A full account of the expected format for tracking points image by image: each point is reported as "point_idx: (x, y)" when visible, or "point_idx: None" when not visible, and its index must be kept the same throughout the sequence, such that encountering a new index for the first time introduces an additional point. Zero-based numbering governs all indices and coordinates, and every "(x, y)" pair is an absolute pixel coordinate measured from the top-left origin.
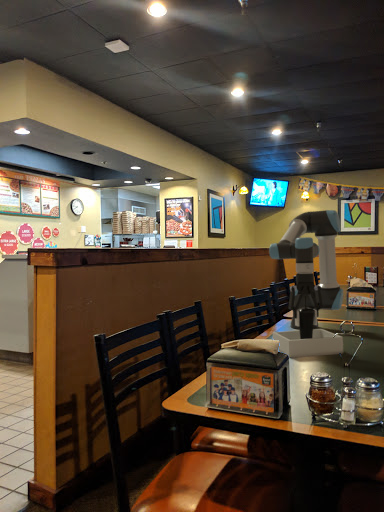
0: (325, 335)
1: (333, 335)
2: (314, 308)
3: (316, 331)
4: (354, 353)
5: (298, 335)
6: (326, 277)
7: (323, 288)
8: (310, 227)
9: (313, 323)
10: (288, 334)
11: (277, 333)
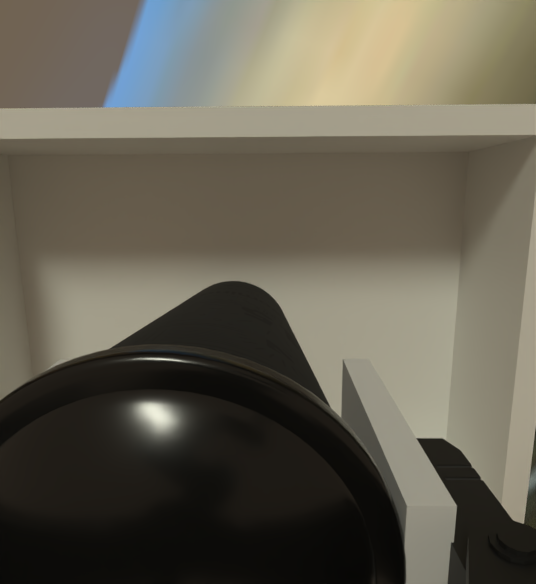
0: (502, 252)
1: (502, 428)
2: (464, 572)
3: (469, 139)
4: (533, 479)
5: (228, 145)
6: None
7: None
8: None
9: (344, 392)
10: (100, 142)
11: None
